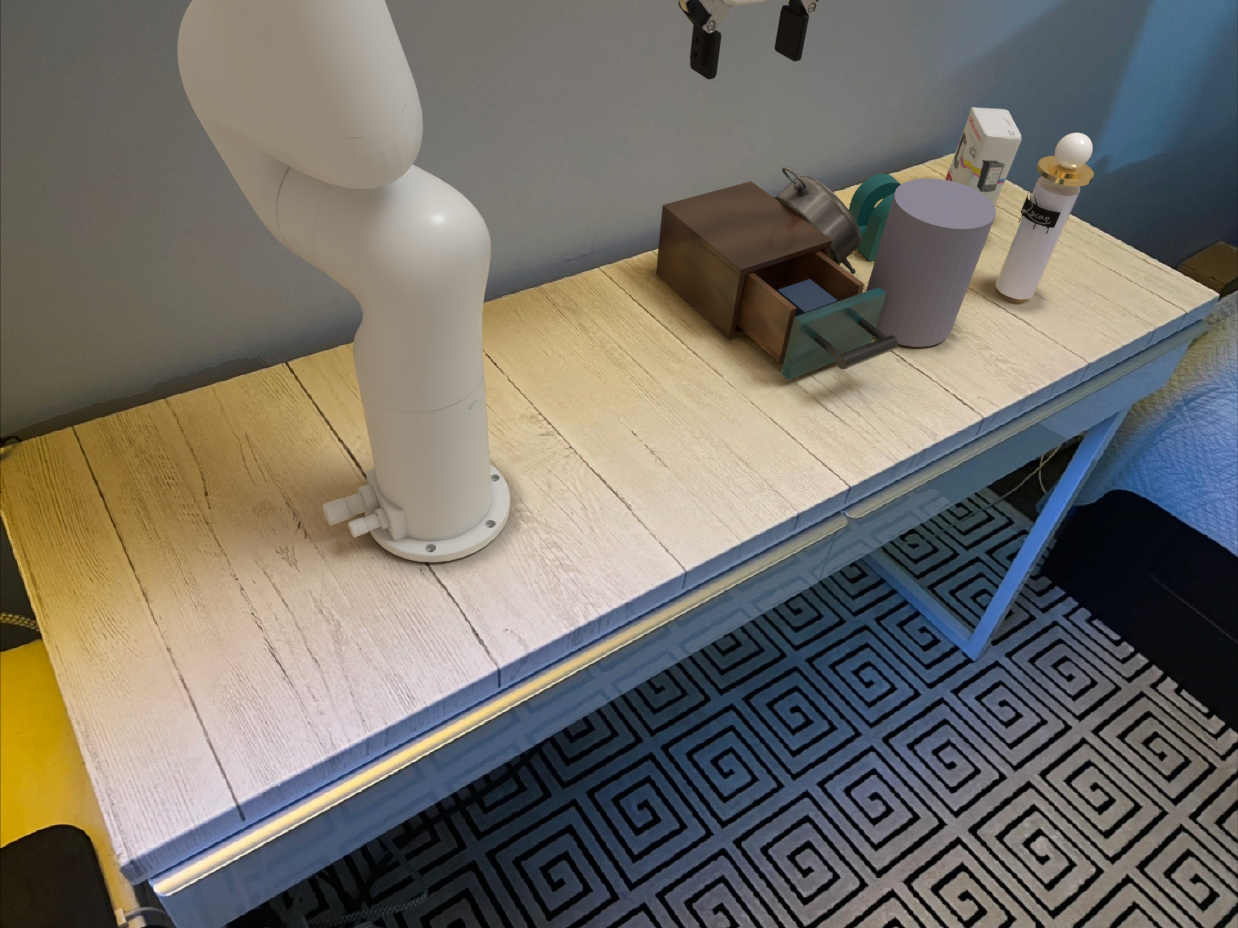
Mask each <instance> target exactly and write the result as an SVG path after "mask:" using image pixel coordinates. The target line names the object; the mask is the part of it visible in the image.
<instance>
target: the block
mask: <svg viewBox="0 0 1238 928" xmlns="http://www.w3.org/2000/svg"><path fill="white" fill-rule="evenodd" d="M777 292H778V293H779V294H780V295H782V296H783V297H784V298H785V299H786V300H788V301H789V302H790V303H791V304H793V305H794V306H795V307H796V312H795V317H796V316H799V315H802V314H804V313H807V312H810V311H813V310H816V309H818V308H821V307H824V306H827V305H830V304H832V303H835V302H837V300H836V299H835V298H834V297H832V296H831V295H830V294H829V293H827V292H826V291H825V290H823V289H822V288H821V287H820V286H818V285H817V284H816V283H814V282H813V281H812V280H811V279H808V280H805V281H802V282H799V283H796V284H793V285H791V286H788V287H785V288H782V289H779V290H778V291H777Z"/></svg>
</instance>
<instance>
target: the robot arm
mask: <svg viewBox="0 0 1238 928" xmlns="http://www.w3.org/2000/svg"><path fill="white" fill-rule="evenodd" d="M772 1H773V0H678V6H679V8H680V10H681V11H682V13H684V15H685V16H686V17H687V21H688V22H689V23H690V24H692V25H693V26H692V34H691V42H690V52H689V67H690V69H691V70H693V71H694V72H696V73H697V74H699V75H701V76H702V77H703V78H704V79H706V80H708V81H710V80H714V79H715V78H716V77H717V74H718V66H719V59H720V50H721V42H722V32H721V31H719V30H717V29H718V27H719V25H720V24H721V23H722V21H723V20H724V18H726V16H727V15H728V13H729V11H730V10H731V8H732V7H740V6H741V7H742V6H749V5H754V4H760V3H766V2H772ZM819 1H820V0H786V2H787V4H783V5H782V4H781V5H782V6H781V9H780V13H779V19H778V25H777V30H776V36H775V43H774V51H775V52H777V53H778V54H780V55H781V56H783V57H784V58H787V59H788V60H790V61H792V62H794V63H795V62H800V61H801V60H802V57H803V51H804V46H805V41H806V35H807V31H808V25H809V20H810V16H812V15H814V14H815V13H816V12H817V10H818V2H819ZM714 3H715V4H714ZM713 4H714V5H713ZM712 5H713V6H712ZM711 6H712V8H711ZM710 8H711V10H710V11H709V9H710ZM177 64H178V69H179V70H178V71H179V75H180V78H181V82H182V87H183V89H184V92H185V95H186V97H187V100H188V102H189V103H190V105H191V108H192V110H193V112H194V114H195V115H196V117H197V119H198V120H199V122H200V124H201V126H202V128H203V129H204V131H205V132H206V134H207V136H208V138H209V139H210V140H211V142H212V144H213V145H214V148H215V149H216V150H217V152H218V153H219V155H220V157H221V159H222V160H223V162H224V164H225V165H226V167H227V169H228V170H229V172H230V173H231V175H232V177H233V178H234V180H235V181H236V183H237V185H238V186H239V188H240V190H241V192H242V193H243V195H244V196H245V198H246V199H247V201H248V203H249V204H250V206H251V207H252V209H253V211H254V213H255V214H256V215H257V217H258V218H259V220H260V221H261V222H262V224H263V225H264V226H265V228H266V229H267V230H268V231H269V233H270V234H271V235H272V236H273V237H274V238H275V239H276V240H277V241H278V242H279V243H280V244H281V245H282V246H284V247H285V248H286V249H288V250H289V251H290V252H292V253H293V254H294V255H296V256H298V257H299V258H301V259H302V260H304V261H306V263H308V264H310V265H312V266H313V267H314V268H316V269H318V270H319V271H321V272H323V273H324V274H326V276H328V277H329V278H330V279H332V280H333V281H334V282H336V283H337V284H339V285H340V286H342V287H343V288H345V289H346V290H347V291H348V292H350V293H351V294H352V295H353V296H354V297H355V299H356V300H357V301H358V304H359V305H360V308H361V311H362V320H361V322H360V325H359V326H358V327H357V330H356V332H355V335H354V338H353V343H352V344H353V345H352V353H353V355H352V357H353V364H354V369H355V375H356V381H357V384H358V388H359V389H358V390H359V394H360V399H361V405H362V410H363V415H364V421H365V425H366V430H367V435H368V441H369V446H370V451H371V452H370V453H371V457H372V462H373V467H374V469H371V470H368V471H366V472H365V476H366V481H367V484H365V485H362V486H360V487H358V488H357V493H354V494H351V495H348V496H346V497H343V496H341V497H339V498H337V499H333V500H331V501H328V502H325V503H323V504H322V505H321V507H322V511H323V514H324V516H325V519H326V521H327V523H328V525H329V526H334V525H337V524H339V523H343V522H344V521H347V520H350V519H351V518H352V517H355V516H359V515H360V514H363V513H364V517H363V516H362V517H359V518H356V519H353V520H351V521H348V522H347V526H348V529H349V532H350V534H351V537H353V538H357V537H360V536H363V535H365V534H367V533H370V535H371V536H372V538H373V539H374V540H375V542H376V543H377V544H379V545H380V547H382V548H383V549H384V550H386V551H387V552H389V553H391V554H392V555H395V556H397V557H400V558H403V559H405V560H410V561H414V562H420V563H441V562H450V561H455V560H457V559H461V558H462V559H463V558H465V557H467V556H469V555H472V554H475V553H477V552H478V551H479V550H480V551H481V549H483V548H484V547H486V546H488V545H489V544H490V543H491V542H492V541H494V540H495V539H496V538H497V537H498V536H499V534H500V533H501V532H502V530H503V529H504V528H505V525H506V523H507V521H508V520H509V517H510V511H511V495H510V487H509V485H508V483H507V481H506V478H505V477H504V476H503V474H502V473H501V471H499V470H498V469H497V467H495V466H494V465H493V464H491V455H490V453H491V451H490V439H489V438H490V437H489V422H488V407H487V392H486V376H485V365H484V350H483V349H484V347H483V314H484V313H483V312H484V302H485V295H486V288H487V283H488V278H489V273H490V267H491V257H492V242H491V236H490V232H489V229H488V226H487V224H486V221H485V220H484V218H483V216H482V215H481V213H480V212H479V210H478V209H477V208H476V206H474V204H473V203H472V202H471V201H470V200H469V199H468V198H467V197H466V196H464V194H463V193H462V192H460V191H458V189H456V188H455V187H453V186H452V185H450V184H448V182H446V181H444V180H442V179H441V178H439V177H437V176H436V175H434V174H432V173H430V172H429V171H427V170H424V169H422V168H420V167H419V166H417V165H415V164H414V163H415V161H416V159H417V158H418V155H419V153H420V150H421V147H422V143H423V142H422V141H423V135H424V121H423V119H424V118H423V109H422V106H421V101H420V96H419V92H418V88H417V85H416V82H415V79H414V76H413V73H412V71H411V68H410V65H409V62H408V60H407V57H406V55H405V51H404V49H403V46H402V43H401V41H400V38H399V36H398V32H397V30H396V27H395V24H394V22H393V19H392V15H391V13H390V11H389V8H388V6H387V3H386V0H191V2H190V3H189V4H188V7H187V8H186V10H185V12H184V14H183V17H182V20H181V23H180V25H179V30H178V37H177Z"/></svg>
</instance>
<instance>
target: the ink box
mask: <svg viewBox="0 0 1238 928" xmlns="http://www.w3.org/2000/svg"><path fill="white" fill-rule="evenodd" d="M1021 142H1022V134H1021V132H1020V130H1019V128H1018V126H1017V124H1016V122H1015V121H1014V119H1013V117H1012V115H1011V113H1010V111H1009V110H1008V109H1006V108H1005V109H1004V108H989V107H974V106H972V107H971V108H970V112H969V115H968V117H967V120H966V122H965V126H964V129H963V131H962V134H961V137H960V139H959V142H958V145H957V147H956V150H955V152H954V155H953V157H952V161H951V163H950V166H949V169H948V171H947V174H946V177H945V179H944V180H948V181H953V182H957V183H960V184H963V185H966V186H968V187H971V188H973V189H975V190H977V191H979V192H980V193H982V194H983V195H985V196H986V197H987V198H988V199H989V200H990V201H991V202H992V203H993V205H994V206H995V207H996V205H997V202H998V200H999V197H1000V195H1001V193H1002V190H1003V187H1004V185H1005V182H1006V179H1007V177H1008V174H1009V172H1010V169H1011V168H1012V165H1013V163H1014V159H1015V157H1016V155H1017V152H1018V149H1019V147H1020V145H1021Z"/></svg>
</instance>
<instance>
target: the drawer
mask: <svg viewBox="0 0 1238 928" xmlns="http://www.w3.org/2000/svg"><path fill="white" fill-rule="evenodd" d="M808 279H811V280H812V281H813V282H814V283H816V284H817V285H818V286H820V287H821V288H822V289H823V290H825V291H826V292H827V293H829V294H830V295H831V296H832V297H834V298H835V299H836V300H837V302H835V303H832V304H830V305H827V306H824V307H821V308H818V309H816V310H813V311H810V312H807V313H804V314H802V315H799V316H796V317H795V312H796V307H795V306H794V305H793V304H791V303H790V302H789V301H788V300H786V299H785V298H784V297H783V296H782V295H780V294H779V293H778V292H777V291H778V290H779V289H782V288H785V287H788V286H791V285H793V284H796V283H799V282H802V281H805V280H808ZM864 287H865V283H864V282H862V281H861V280H860V279H858V277H856V276H854V274H851V272H850V271H847V270H846V269H845V268H843V267H842V266H841V264H840V265H838V264H837V263H835V262H834V261H833V260H831V259H830V258H829V257H827V256H826V255H825V254H823V253H822V252H821V251H819V250H818V251H815V252H812V253H809V254H805V255H802V256H799V257H796V258H793V259H790V260H787V261H784V262H781V263H777V264H774V265H771V266H768V267H765V268H762V269H759V270H756V271H753V272H750V273H746V274H745V278H744V284H743V289H742V295H741V301H740V306H739V312H738V318H737V323H736V325H737V326H738V327H739V328H740V329H742V330H743V331H744V332H745V333H746V334H745V335H747V337H749V338H751V340H753V341H754V342H755V343H756V344H757V345H758V346H760V347H761V348H762V349H763V350H764V351H765V352H766V353H767V354H769V356H771V357H772V358H773V359H774V360H775V361H776V362H778V363H782V362H783V364H782V369H781V373H780V375H781V376H782V377H784V378H785V379H786V380H787V381H791V380H793V379H796V378H798V377H800V376H803V375H806V374H809V373H811V372H813V371H817V370H819V369H821V368H824V367H826V366H829V365H832V364H836V366H837V367H838V368H839V369H840V370H842V371H843V370H847V369H849V368H852V367H854V366H856V365H860V364H861V363H864V362H866V361H867V362H868V361H869V360H872V359H874V358H876V357H879V356H881V355H885V354H887V353H889V352H892V351H895V350H897V348H898V346H899V344H898V341H897V339H896V338H895V337H894V336H892V335H890V336H887V337H886V336H885V335H884V334H883V333H881V332H880V331H879V330H878V329H876V325H877V322H878V319H879V316H880V312H881V309H882V306H883V303H884V299H885V296H886V292H885V291H883V290H882V289H881V288H879V287H877V288H875V289H872V290H869V291H866V290H865V291H864V292H863V290H864ZM873 338H874V339H876V340H874V341H873Z"/></svg>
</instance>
